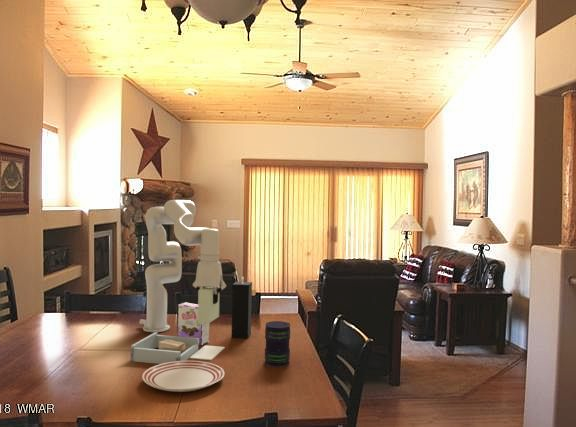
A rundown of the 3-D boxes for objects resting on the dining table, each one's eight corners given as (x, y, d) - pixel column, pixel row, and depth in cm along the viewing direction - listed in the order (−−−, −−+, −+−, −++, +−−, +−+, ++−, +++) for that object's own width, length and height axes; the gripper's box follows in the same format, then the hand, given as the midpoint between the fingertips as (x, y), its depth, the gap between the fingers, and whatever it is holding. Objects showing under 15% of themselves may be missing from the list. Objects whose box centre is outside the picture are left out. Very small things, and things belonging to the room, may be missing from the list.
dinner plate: (190, 362, 170) (191, 353, 170) (240, 381, 153) (241, 371, 153) (125, 383, 149) (125, 373, 149) (175, 407, 132) (175, 396, 132)
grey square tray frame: (130, 361, 170) (130, 345, 170) (154, 346, 188) (155, 332, 188) (179, 365, 166) (179, 349, 166) (198, 350, 184) (199, 335, 184)
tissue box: (251, 333, 210) (252, 275, 210) (247, 338, 202) (249, 277, 202) (234, 333, 211) (236, 274, 210) (231, 337, 203) (232, 277, 203)
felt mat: (189, 358, 174) (189, 357, 174) (204, 346, 190) (204, 345, 190) (211, 360, 172) (211, 359, 172) (224, 347, 188) (224, 346, 188)
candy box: (176, 340, 197) (177, 304, 197) (185, 337, 202) (186, 301, 202) (201, 345, 190) (202, 307, 190) (209, 342, 196) (210, 305, 195)
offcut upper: (178, 353, 172) (178, 345, 172) (158, 349, 177) (158, 341, 176) (185, 350, 176) (185, 343, 176) (166, 346, 180) (166, 339, 180)
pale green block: (197, 322, 175) (198, 290, 175) (208, 315, 187) (209, 285, 187) (208, 323, 174) (209, 290, 174) (219, 316, 186) (219, 285, 186)
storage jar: (267, 368, 165) (268, 328, 165) (261, 359, 175) (262, 321, 175) (292, 366, 168) (293, 327, 168) (286, 357, 178) (286, 320, 177)
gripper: (186, 258, 179) (186, 303, 179) (226, 260, 175) (225, 306, 175) (194, 257, 186) (193, 300, 186) (232, 258, 183) (231, 302, 183)
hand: (209, 302), depth 181 cm, fingers closed on pale green block, 4 cm apart
